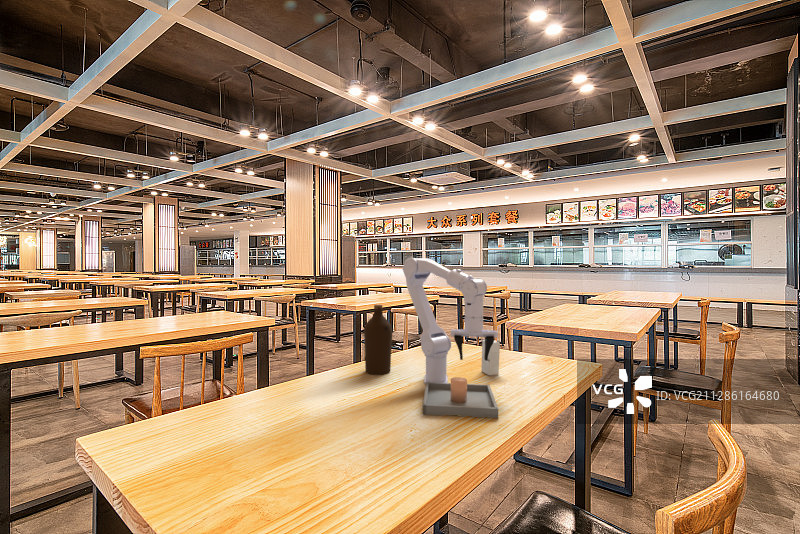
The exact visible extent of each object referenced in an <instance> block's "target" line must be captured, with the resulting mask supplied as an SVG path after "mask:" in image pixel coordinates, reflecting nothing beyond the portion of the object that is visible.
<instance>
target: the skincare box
mask: <svg viewBox="0 0 800 534" xmlns="http://www.w3.org/2000/svg"><path fill="white" fill-rule="evenodd" d="M481 344H482V345H481V366H480V367H481V372H482V373H484V374H485V375H488V376H499V373H500V348H501V343H500V342H499V341H497V340H495V339H494V343H493V344H492V346H491V348H490V351H489V354H488V359H487V361H485V359H484V354H485V339H482V340H481Z"/></svg>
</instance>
